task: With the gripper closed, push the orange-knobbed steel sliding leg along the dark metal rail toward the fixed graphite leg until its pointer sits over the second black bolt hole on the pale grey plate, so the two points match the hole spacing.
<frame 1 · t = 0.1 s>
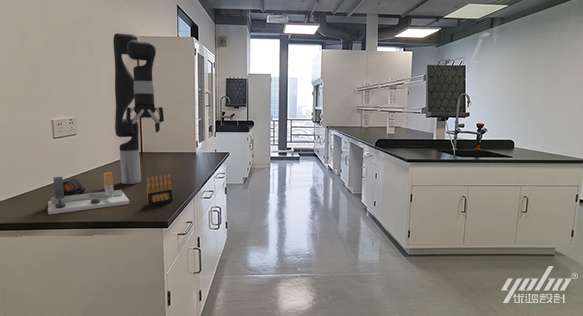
hand: (146, 132, 152), 29 cm above the countertop, tool pointing down, fingers open, 8 cm apart
hole plate: (89, 204, 151), on the countertop
battery: (73, 196, 166), on the countertop
sliding leg: (109, 184, 154), point 7 cm above the countertop, slide at 18.0 cm
ammunition clip: (159, 203, 153), on the countertop
rail and fixed leg: (88, 202, 154), resting on hole plate
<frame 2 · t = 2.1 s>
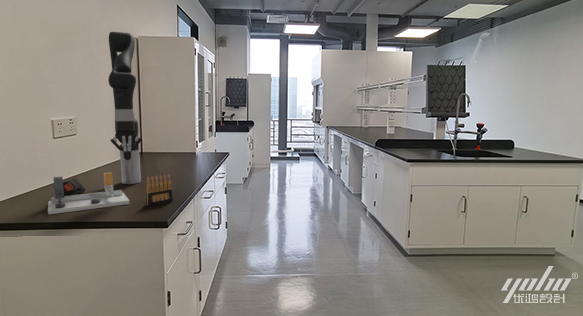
hand: (127, 159, 160), 17 cm above the countertop, tool pointing down, fingers closed
nothing on the countertop moved.
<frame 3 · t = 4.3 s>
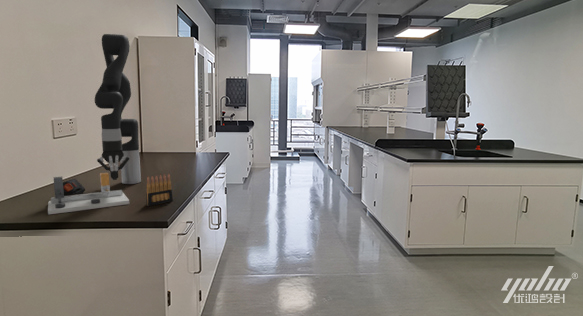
hand: (114, 179, 158), 9 cm above the countertop, tool pointing down, fingers closed
sliding leg: (105, 184, 153), point 7 cm above the countertop, slide at 16.6 cm, touching gripper
everything else where it was.
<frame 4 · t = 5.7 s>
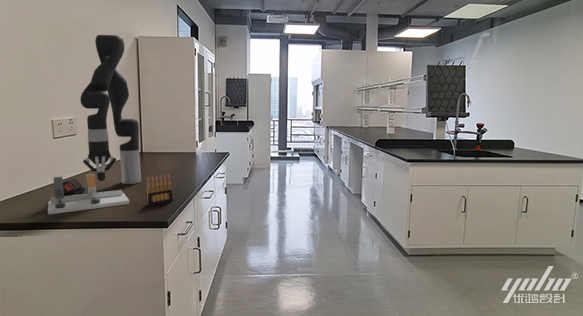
hand: (101, 180, 156), 9 cm above the countertop, tool pointing down, fingers closed
sliding leg: (92, 186, 151), point 7 cm above the countertop, slide at 11.5 cm, touching gripper
everything else where it was.
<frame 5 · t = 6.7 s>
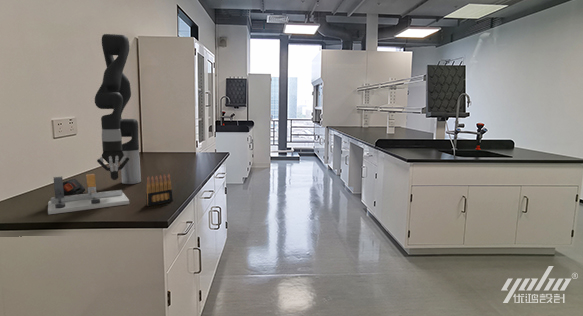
hand: (114, 179, 159), 8 cm above the countertop, tool pointing down, fingers closed
sliding leg: (92, 186, 151), point 7 cm above the countertop, slide at 11.5 cm
everything else where it was.
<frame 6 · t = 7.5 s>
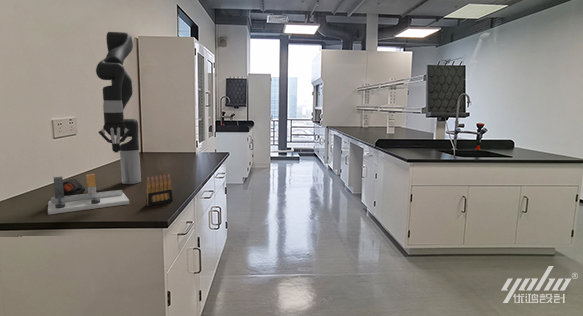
hand: (116, 152, 157), 20 cm above the countertop, tool pointing down, fingers closed
nothing on the countertop moved.
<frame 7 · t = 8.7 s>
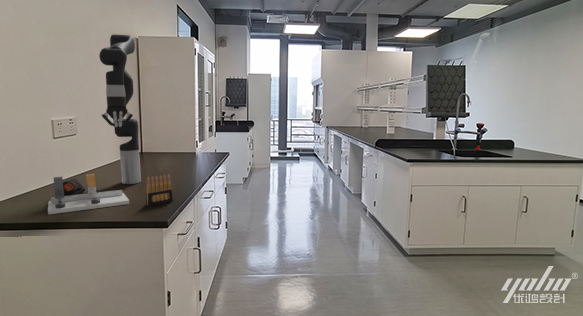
hand: (118, 135, 163), 27 cm above the countertop, tool pointing down, fingers closed
nothing on the countertop moved.
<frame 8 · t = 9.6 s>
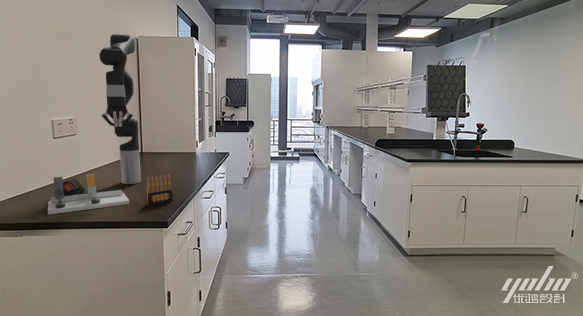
hand: (118, 135, 163), 27 cm above the countertop, tool pointing down, fingers closed
nothing on the countertop moved.
at the end: sliding leg slide at 11.5 cm; ammunition clip moved 0.3 cm from its start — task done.
